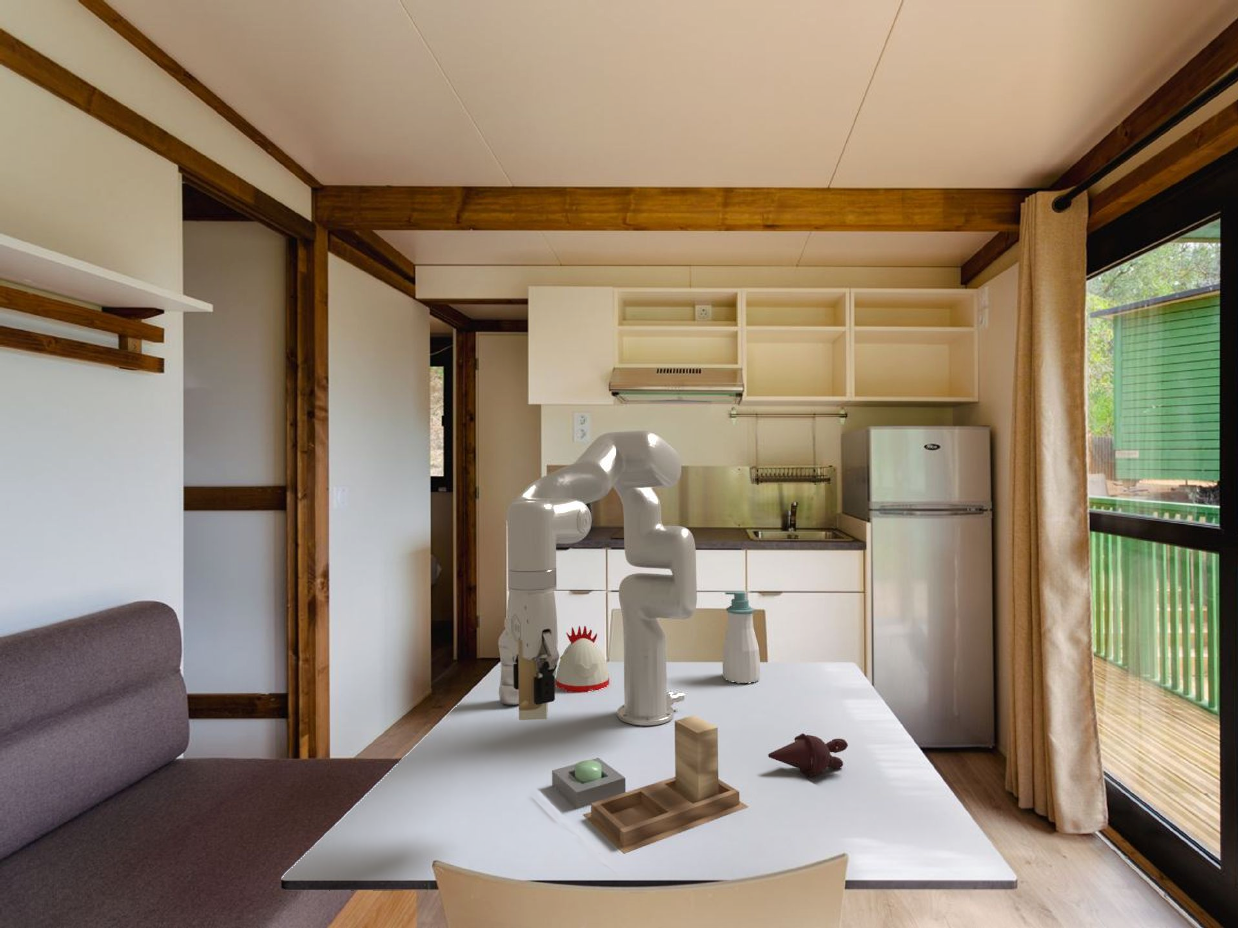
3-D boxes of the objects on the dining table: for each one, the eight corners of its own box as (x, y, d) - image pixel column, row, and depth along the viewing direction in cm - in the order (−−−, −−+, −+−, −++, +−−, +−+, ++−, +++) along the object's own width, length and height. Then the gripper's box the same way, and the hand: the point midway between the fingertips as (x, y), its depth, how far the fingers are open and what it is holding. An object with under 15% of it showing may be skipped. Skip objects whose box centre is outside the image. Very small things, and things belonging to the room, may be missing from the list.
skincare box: (521, 706, 99) (520, 629, 99) (548, 704, 99) (547, 628, 100) (518, 721, 93) (517, 639, 93) (547, 720, 93) (546, 638, 93)
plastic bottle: (521, 708, 144) (521, 622, 144) (494, 707, 145) (493, 621, 146) (530, 699, 150) (530, 616, 151) (504, 697, 151) (504, 615, 152)
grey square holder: (598, 777, 109) (598, 757, 109) (625, 799, 102) (625, 777, 102) (552, 791, 105) (552, 770, 105) (576, 815, 97) (576, 792, 97)
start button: (593, 778, 106) (593, 757, 106) (606, 789, 102) (606, 767, 103) (570, 785, 104) (570, 764, 104) (582, 796, 100) (582, 774, 100)
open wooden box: (700, 782, 107) (699, 764, 107) (748, 812, 97) (748, 793, 97) (582, 820, 95) (582, 801, 95) (624, 860, 85) (624, 838, 85)
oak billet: (695, 788, 103) (693, 715, 103) (718, 804, 98) (717, 727, 98) (675, 795, 101) (674, 720, 101) (698, 811, 96) (697, 732, 96)
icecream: (781, 751, 104) (860, 750, 108) (763, 724, 112) (837, 724, 115) (774, 787, 106) (852, 785, 109) (756, 758, 113) (830, 757, 116)
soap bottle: (721, 673, 170) (720, 589, 170) (758, 673, 169) (756, 589, 169) (724, 684, 160) (722, 595, 161) (762, 685, 159) (760, 595, 160)
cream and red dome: (552, 678, 167) (552, 622, 168) (602, 673, 170) (602, 618, 171) (560, 694, 153) (560, 633, 154) (614, 689, 157) (613, 630, 157)
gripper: (490, 575, 102) (491, 683, 102) (532, 590, 87) (533, 717, 87) (532, 571, 106) (533, 675, 105) (579, 585, 91) (581, 706, 91)
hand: (533, 693), depth 96 cm, fingers closed on skincare box, 7 cm apart
